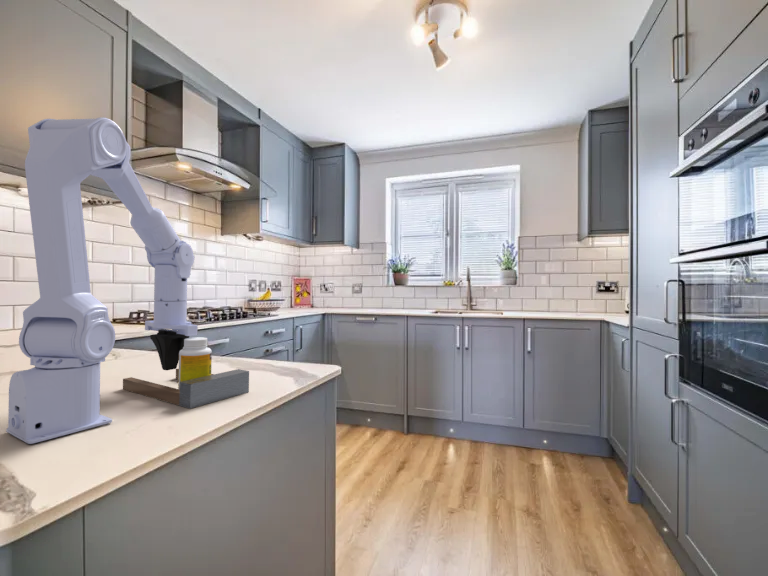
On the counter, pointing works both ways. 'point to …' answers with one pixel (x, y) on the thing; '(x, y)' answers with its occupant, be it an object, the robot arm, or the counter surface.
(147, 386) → the guide rails
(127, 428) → the counter surface
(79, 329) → the robot arm
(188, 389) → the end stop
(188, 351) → the supplement bottle
